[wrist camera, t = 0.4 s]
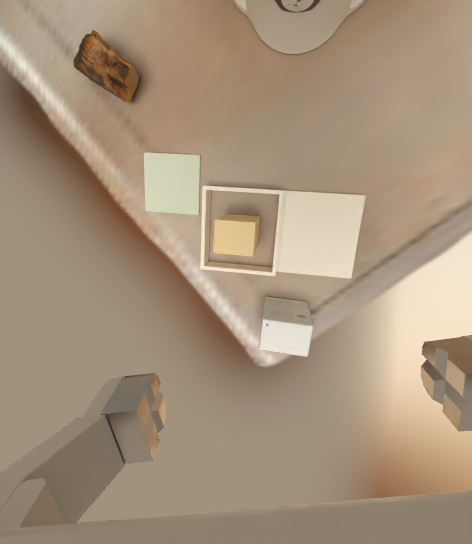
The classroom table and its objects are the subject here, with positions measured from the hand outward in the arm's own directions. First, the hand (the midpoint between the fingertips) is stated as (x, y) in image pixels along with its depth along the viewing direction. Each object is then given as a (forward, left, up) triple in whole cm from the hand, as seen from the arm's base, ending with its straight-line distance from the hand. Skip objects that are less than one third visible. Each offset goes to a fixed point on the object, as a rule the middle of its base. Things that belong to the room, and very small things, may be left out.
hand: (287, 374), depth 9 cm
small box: (+17, +2, -45) cm, 48 cm away
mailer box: (+2, 0, -45) cm, 45 cm away
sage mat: (-5, -20, -45) cm, 49 cm away
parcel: (+2, -7, -45) cm, 46 cm away
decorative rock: (-22, -29, -45) cm, 58 cm away
